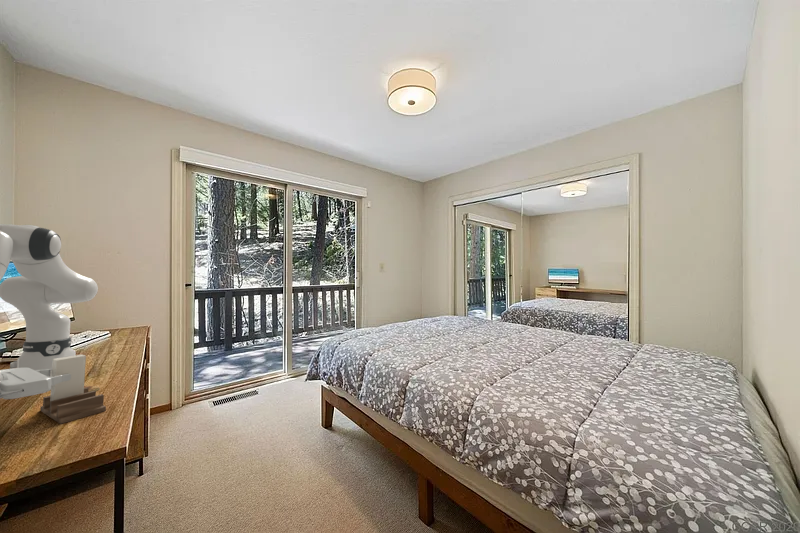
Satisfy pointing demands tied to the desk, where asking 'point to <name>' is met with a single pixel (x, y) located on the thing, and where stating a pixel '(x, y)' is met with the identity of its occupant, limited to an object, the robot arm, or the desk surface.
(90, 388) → the shard
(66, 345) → the robot arm
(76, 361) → the clay bar
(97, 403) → the drying rack
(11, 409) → the desk surface
